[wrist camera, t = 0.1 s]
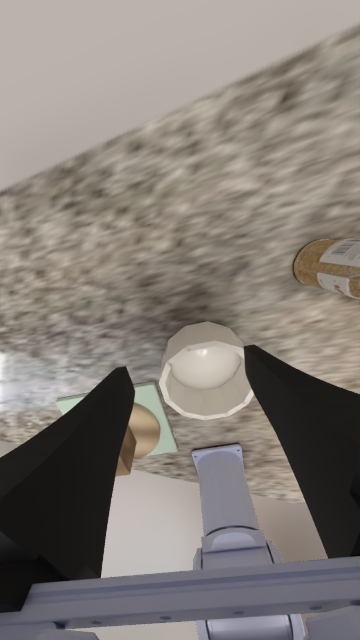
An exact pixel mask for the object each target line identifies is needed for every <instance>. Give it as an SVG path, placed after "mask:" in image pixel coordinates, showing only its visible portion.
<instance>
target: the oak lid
mask: <svg viewBox="0 0 360 640" xmlns="http://www.w3.org/2000/svg"><path fill="white" fill-rule="evenodd" d="M159 439H160V424H159V421H158V419H157V418H156V416H155V415H154V414H153V413H152V412H151V411H150V410H149V409H147V408H146V407H144V406H142V405H140V404H138V403H135V402H134V405H133V410H132V413H131V417H130V420H129V424H128V427H127V430H126V434H125V437H124V441H123V444H122V447H121V451H120V455H119V460H118V465H117V470H116V475H115V476H121V475H129V474H130V471H131V467H132V462H133V459H138V458H141V457H144V456H146V455H148V454H149V453H151V452H152V451H153V450H154V449H155V448H156V446H157V445H158V443H159Z"/></svg>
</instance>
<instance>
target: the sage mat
mask: <svg viewBox="0 0 360 640" xmlns="http://www.w3.org/2000/svg"><path fill="white" fill-rule="evenodd" d="M133 386H134V389H135V399H134V402H135V403H138V404H140V405H142V406H144V407H146V408H147V409H149V410H150V411H151V412H152V413H153V414H154V415H155V416H156V418H157V419H158V421H159V424H160V439H159V443H158V445H157V446H156V448H155V449H154V450H153V451H152V452H151V453H149V454H148V455H146V456H150V455H156V454H163V453H170V452H176V451H178V447H177V444H176V441H175V438H174V435H173V432H172V429H171V427H170V424H169V421H168V418H167V415H166V412H165V410H164V407H163V404H162V401H161V398H160V395H159V393H158V390H157V387H156V384H155V381H152V382H147V383H141V384H136V385H133ZM88 394H89V393H86V394H81V395H75V396H70V397H65V398H59V399H57V400H56V402H55V403H56V405H57V406H58V408H59V409H60V411H61V412H62V414H63V415H64V414H65V413H67V412H68V411H69V410H70V409H72V408H73V407H74V406H75V405H76V404H77V403H78V402H80V401H81V400H82V399H83V398H84V397H85V396H86V395H88Z"/></svg>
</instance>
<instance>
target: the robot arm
mask: <svg viewBox="0 0 360 640" xmlns="http://www.w3.org/2000/svg"><path fill="white" fill-rule="evenodd" d="M244 361H245V374H246V377H247V379H248V382H249V384H250V387H251V389H252V391H253V393H254V395H255V396H256V398H257V400H258V402H259V404H260V405H261V407H262V409H263V411H264V412H265V414H266V416H267V418H268V419H269V421H270V423H271V425H272V427H273V429H274V430H275V432H276V434H277V436H278V439H279V441H280V443H281V445H282V448H283V450H284V452H285V454H286V456H287V459H288V461H289V463H290V466H291V468H292V470H293V473H294V475H295V477H296V480H297V482H298V484H299V487H300V489H301V492H302V494H303V496H304V499H305V501H306V504H307V506H308V508H309V510H310V513H311V516H312V518H313V521H314V523H315V526H316V528H317V531H318V533H319V536H320V538H321V541H322V543H323V546H324V549H325V551H326V554H327V556H328V559H320V560H309V561H297V562H287V563H284V562H283V559H282V556H281V554H280V552H279V550H278V548H277V547H276V546H275V545H274V544H273V543H272V541H271V540H267V541H265V537H264V534H263V531H262V530H260V527H259V523H258V520H257V517H256V513H255V509H254V506H253V503H252V499H251V495H250V492H249V488H248V485H247V481H246V478H245V471H244V464H243V457H242V449H241V445H240V444H234V445H228V446H221V447H214V448H207V449H201V450H194V451H192V457H193V460H194V463H195V467H196V470H197V473H198V476H199V484H200V496H201V507H202V519H203V530H204V536H203V537H202V538H201V540H202V548H198V549H197V552H196V554H195V556H194V561H193V570H192V571H179V572H169V573H156V574H144V575H133V576H121V577H110V578H101V571H102V561H103V554H104V546H105V537H106V531H107V523H108V517H109V511H110V504H111V498H112V492H113V486H114V481H115V475H116V470H117V465H118V460H119V455H120V451H121V447H122V444H123V441H124V437H125V434H126V430H127V427H128V424H129V420H130V417H131V413H132V410H133V405H134V399H135V389H134V386H133V384H132V381H131V378H130V376H129V373H128V370H127V368H126V366H124V367H118V368H116V369H114V370H113V371H112V372H111V373H110V374H109V375H108V376H107V377H106V378H105V379H104V380H103V381H101V382H100V383H99V384H98V385H97V386H96V387H95V388H94V389H93V390H92V391H91V392H90V393H89V394H88V395H86V396H85V397H84V398H83V399H82V400H81V401H80V402H78V403H77V404H76V405H75V406H74V407H73V408H72V409H70V410H69V411H68V412H67V413H65V414H64V415H63V416H62V417H60V418H59V419H58V420H56V421H55V422H54V423H52V424H51V425H50V426H48V427H47V428H45V429H44V430H42V431H41V432H39V433H38V434H37V435H35V436H34V437H32V438H31V439H29V440H28V441H26V442H25V443H23V444H22V445H20V446H19V447H17V448H15V449H14V450H12V451H11V452H9V453H7V454H6V455H4V456H2V457H1V458H0V640H99V639H98V638H97V636H96V635H95V633H93V632H82V631H71V630H65V629H75V628H90V627H106V626H121V625H136V624H152V623H166V622H181V621H196V626H197V632H198V639H199V640H360V394H357V393H354V392H352V391H349V390H346V389H343V388H340V387H337V386H335V385H332V384H330V383H327V382H325V381H322V380H320V379H318V378H315V377H313V376H311V375H309V374H306V373H304V372H302V371H300V370H298V369H296V368H294V367H292V366H290V365H288V364H287V363H285V362H283V361H281V360H279V359H278V358H276V357H274V356H272V355H271V354H269V353H267V352H266V351H264V350H262V349H261V348H259V347H257V346H256V345H248V346H244ZM320 612H325V613H321V614H318V615H314V616H310V617H307V619H306V626H307V629H308V632H309V633H308V634H307V635H305V631H304V627H303V622H302V619H301V615H300V614H304V613H320Z"/></svg>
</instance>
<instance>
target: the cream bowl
mask: <svg viewBox="0 0 360 640" xmlns="http://www.w3.org/2000/svg"><path fill="white" fill-rule="evenodd" d="M244 346H245V345H244V344H243V342H242V341H241V340H240V339H239V338H238V337H237V336H236V334H235V333H234V332H233V331H232V330H231V329H230V328H229V327H226V326H222V325H219V324H215V323H212V322H209V321H207V322H202V323H197V324H192V325H187V326H184V327H183V328H182V329H181V330H180V331H178V332H177V333H176V334H175V335H174V336H172V337H171V338H170V339H169V340H168V343H167V346H166V349H165V352H164V355H163V358H162V365H161V372H160V379H159V385H160V388H161V391H162V394H163V397H164V400H165V402H166V403H167V404H168V405H170V406H171V407H172V408H173V409H175V410H176V411H177V412H179V413H180V414H181V415H183V416H188V417H192V418H197V419H201V420H209V419H215V418H221V417H228V416H230V415H231V414H233V413H234V412H236V411H238V410H239V409H241V408H243V407H244V406H246V405H248V403H249V402H250V400H251V398H252V397H253V395H254V393H253V391H252V389H251V387H250V384H249V382H248V379H247V377H246V374H245V361H244Z"/></svg>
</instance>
